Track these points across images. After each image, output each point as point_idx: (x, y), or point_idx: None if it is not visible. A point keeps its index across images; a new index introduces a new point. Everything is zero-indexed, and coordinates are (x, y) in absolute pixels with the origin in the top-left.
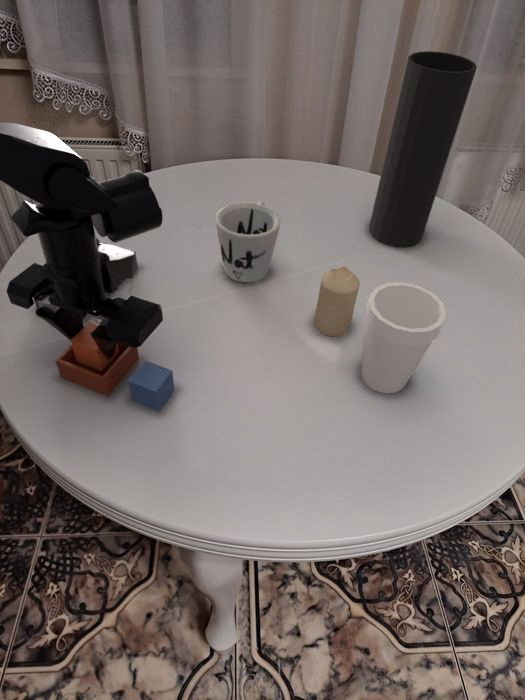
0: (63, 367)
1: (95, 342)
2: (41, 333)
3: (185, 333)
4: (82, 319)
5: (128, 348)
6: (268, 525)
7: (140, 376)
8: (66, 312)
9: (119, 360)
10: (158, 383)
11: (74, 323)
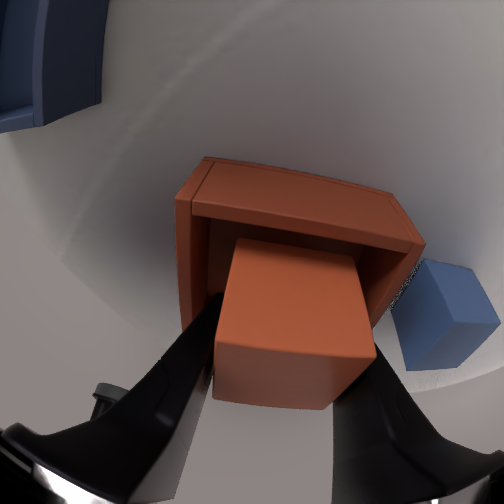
0: None
1: (308, 399)
2: (54, 181)
3: (493, 62)
4: (99, 77)
5: (399, 277)
6: (499, 364)
7: (434, 357)
8: (169, 484)
9: (374, 321)
10: (466, 355)
11: (191, 416)
